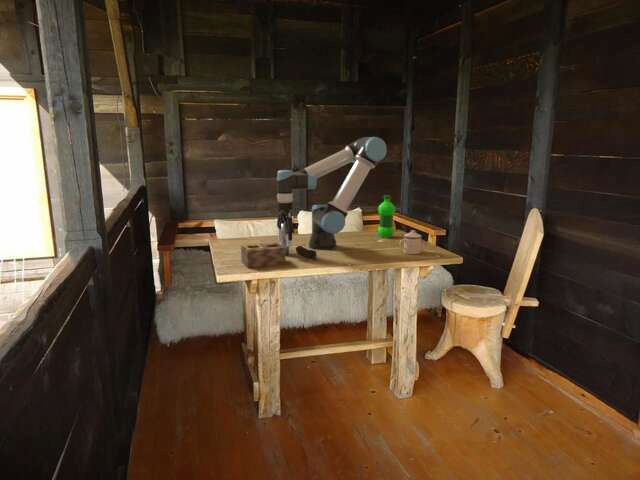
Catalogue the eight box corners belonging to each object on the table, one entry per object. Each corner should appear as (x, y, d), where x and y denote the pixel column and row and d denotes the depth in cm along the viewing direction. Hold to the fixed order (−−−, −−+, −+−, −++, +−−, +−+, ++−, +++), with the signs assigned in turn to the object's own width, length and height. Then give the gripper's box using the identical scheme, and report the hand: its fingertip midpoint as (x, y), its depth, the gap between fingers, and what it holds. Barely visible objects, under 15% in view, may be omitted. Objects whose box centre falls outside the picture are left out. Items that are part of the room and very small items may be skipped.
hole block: (277, 258, 235) (277, 242, 233) (285, 264, 224) (285, 247, 222) (241, 261, 228) (240, 244, 226) (247, 268, 217) (247, 250, 215)
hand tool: (295, 253, 247) (295, 244, 246) (302, 252, 249) (302, 243, 248) (310, 261, 230) (310, 252, 229) (318, 261, 232) (318, 251, 231)
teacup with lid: (415, 250, 255) (416, 228, 253) (424, 253, 247) (425, 231, 244) (395, 251, 252) (396, 229, 249) (403, 255, 243) (404, 232, 241)
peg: (287, 253, 245) (287, 222, 242) (290, 255, 241) (290, 224, 238) (280, 254, 243) (280, 223, 240) (282, 256, 240) (282, 224, 236)
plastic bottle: (374, 235, 292) (375, 194, 287) (390, 235, 295) (392, 194, 290) (380, 239, 283) (381, 196, 278) (397, 238, 285) (398, 196, 280)
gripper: (270, 199, 247) (270, 239, 251) (285, 205, 224) (286, 249, 228) (284, 198, 249) (284, 238, 254) (300, 204, 227) (300, 248, 231)
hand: (285, 243), depth 241 cm, fingers open, 13 cm apart
